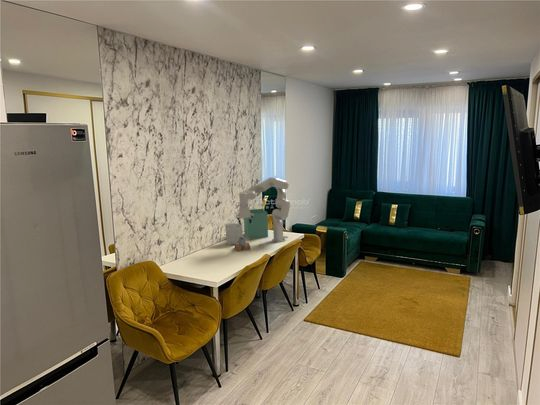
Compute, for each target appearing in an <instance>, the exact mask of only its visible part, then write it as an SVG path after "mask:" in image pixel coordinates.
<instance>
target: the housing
mask: <svg viewBox="0 0 540 405" xmlns="http://www.w3.org/2000/svg"><path fill="white" fill-rule="evenodd" d="M246 242H247V240H246V238H245V237H244V236H243V237H240V238H239V245H240V246H246Z"/></svg>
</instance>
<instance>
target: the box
mask: <svg viewBox="0 0 540 405" xmlns="http://www.w3.org/2000/svg"><path fill="white" fill-rule="evenodd" d="M250 213H253V214H254V215H253V217H252V219H251V223H249V219H250V218H243V225H244V226H243V228H244V229H243V230H244V233H243V235H244V236H245V237H247V239H249V240H251V239H262V238H269V222H268V220H269V219H268V212H267V211H266V210H265V209H264V208H257V209H250ZM251 216H252V215H251V214H250V217H251Z"/></svg>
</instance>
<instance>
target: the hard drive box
mask: <svg viewBox="0 0 540 405" xmlns="http://www.w3.org/2000/svg"><path fill="white" fill-rule="evenodd" d="M243 230H244V229H243V223H242V222H241V225H240V224H239V222H227V223H226V224H225V239H226V245H235V244H239V238H240V237H244V236H243V235H244V233H243Z"/></svg>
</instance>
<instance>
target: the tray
mask: <svg viewBox="0 0 540 405" xmlns="http://www.w3.org/2000/svg"><path fill="white" fill-rule="evenodd" d="M248 243H249V242H248ZM248 243H246V246H240V245H239V244H234V249H235V250H236V251H237V252H244V250H245V251H250V250H251V246H249V245H248Z"/></svg>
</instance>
